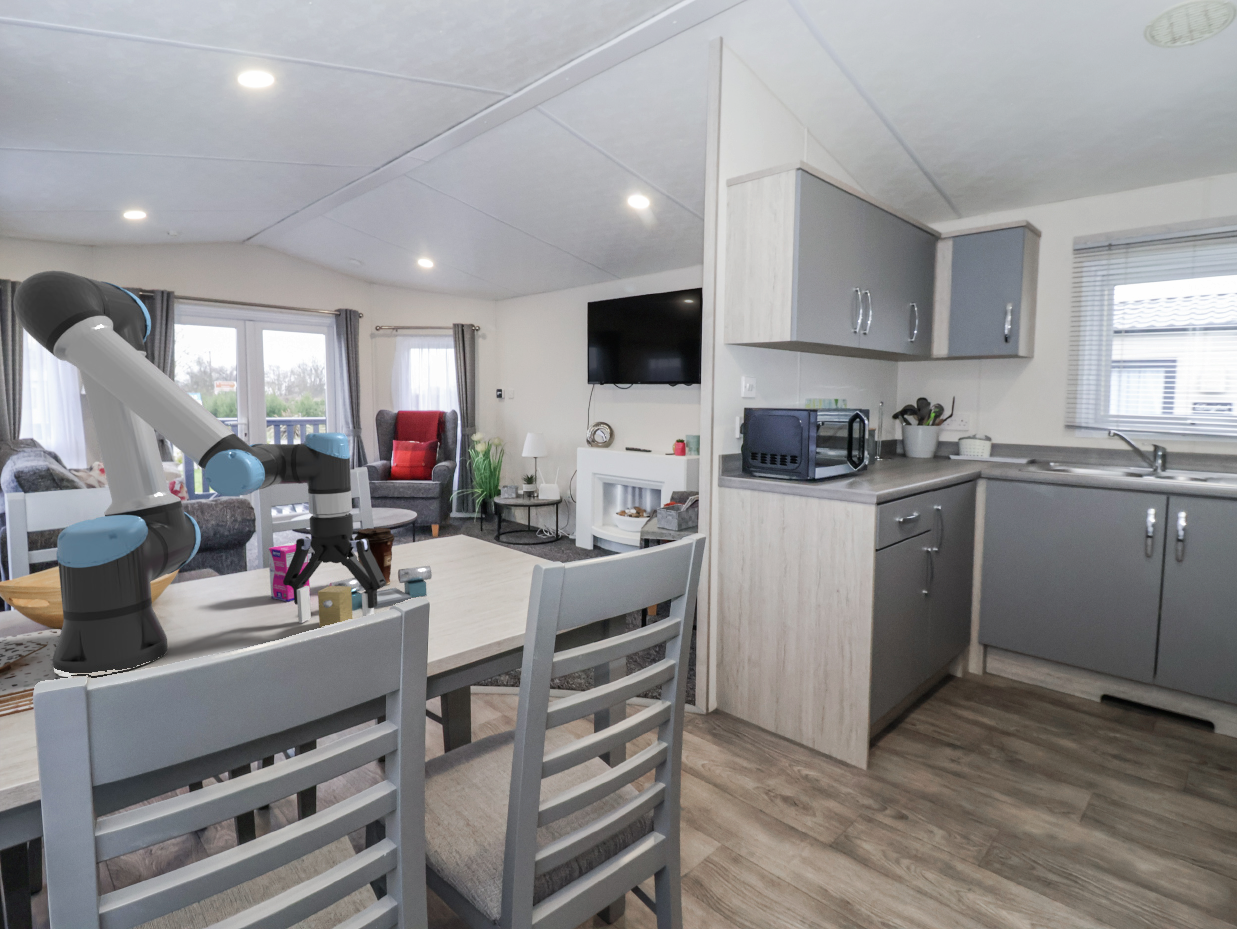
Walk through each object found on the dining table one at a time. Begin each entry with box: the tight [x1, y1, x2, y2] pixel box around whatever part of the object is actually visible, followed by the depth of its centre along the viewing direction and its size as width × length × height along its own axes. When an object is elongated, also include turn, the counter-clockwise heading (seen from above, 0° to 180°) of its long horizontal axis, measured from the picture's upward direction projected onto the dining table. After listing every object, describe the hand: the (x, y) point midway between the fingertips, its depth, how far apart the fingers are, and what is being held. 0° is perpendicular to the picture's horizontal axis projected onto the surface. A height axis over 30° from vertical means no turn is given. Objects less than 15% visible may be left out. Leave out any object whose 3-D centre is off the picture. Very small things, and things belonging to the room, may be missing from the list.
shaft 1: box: [328, 577, 366, 611], centre depth 137 cm, size 7×5×6 cm
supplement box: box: [267, 542, 311, 603], centre depth 144 cm, size 6×6×12 cm
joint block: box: [317, 585, 353, 628], centre depth 126 cm, size 6×4×7 cm
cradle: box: [374, 587, 413, 610], centre depth 142 cm, size 9×9×1 cm
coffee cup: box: [353, 527, 395, 586], centre depth 154 cm, size 9×8×13 cm
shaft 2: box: [397, 565, 433, 599], centre depth 146 cm, size 7×5×6 cm
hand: (336, 622), depth 127 cm, fingers open, 13 cm apart
